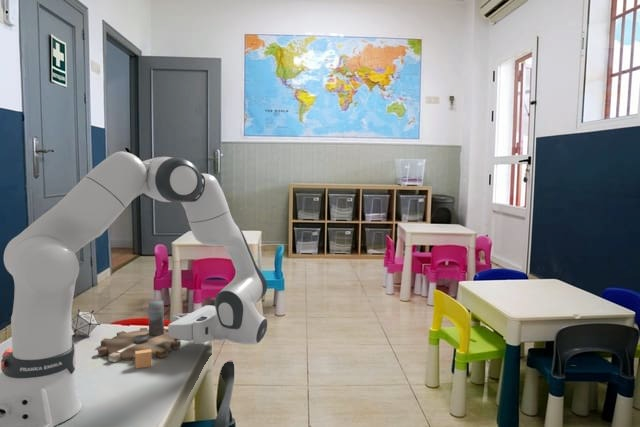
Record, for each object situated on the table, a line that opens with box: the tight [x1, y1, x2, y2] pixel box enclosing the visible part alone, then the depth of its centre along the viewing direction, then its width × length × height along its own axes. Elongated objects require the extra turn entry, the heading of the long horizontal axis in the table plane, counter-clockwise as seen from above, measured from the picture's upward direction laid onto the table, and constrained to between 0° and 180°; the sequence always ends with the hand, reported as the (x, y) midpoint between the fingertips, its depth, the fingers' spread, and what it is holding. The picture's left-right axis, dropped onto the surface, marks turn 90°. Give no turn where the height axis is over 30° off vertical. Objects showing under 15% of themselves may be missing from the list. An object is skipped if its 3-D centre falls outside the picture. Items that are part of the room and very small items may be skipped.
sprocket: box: [97, 299, 182, 363], centre depth 138 cm, size 23×23×12 cm
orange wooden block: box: [134, 349, 153, 369], centre depth 126 cm, size 4×2×4 cm, turn 114°
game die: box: [71, 309, 101, 339], centre depth 146 cm, size 9×8×10 cm
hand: (174, 317), depth 141 cm, fingers closed
